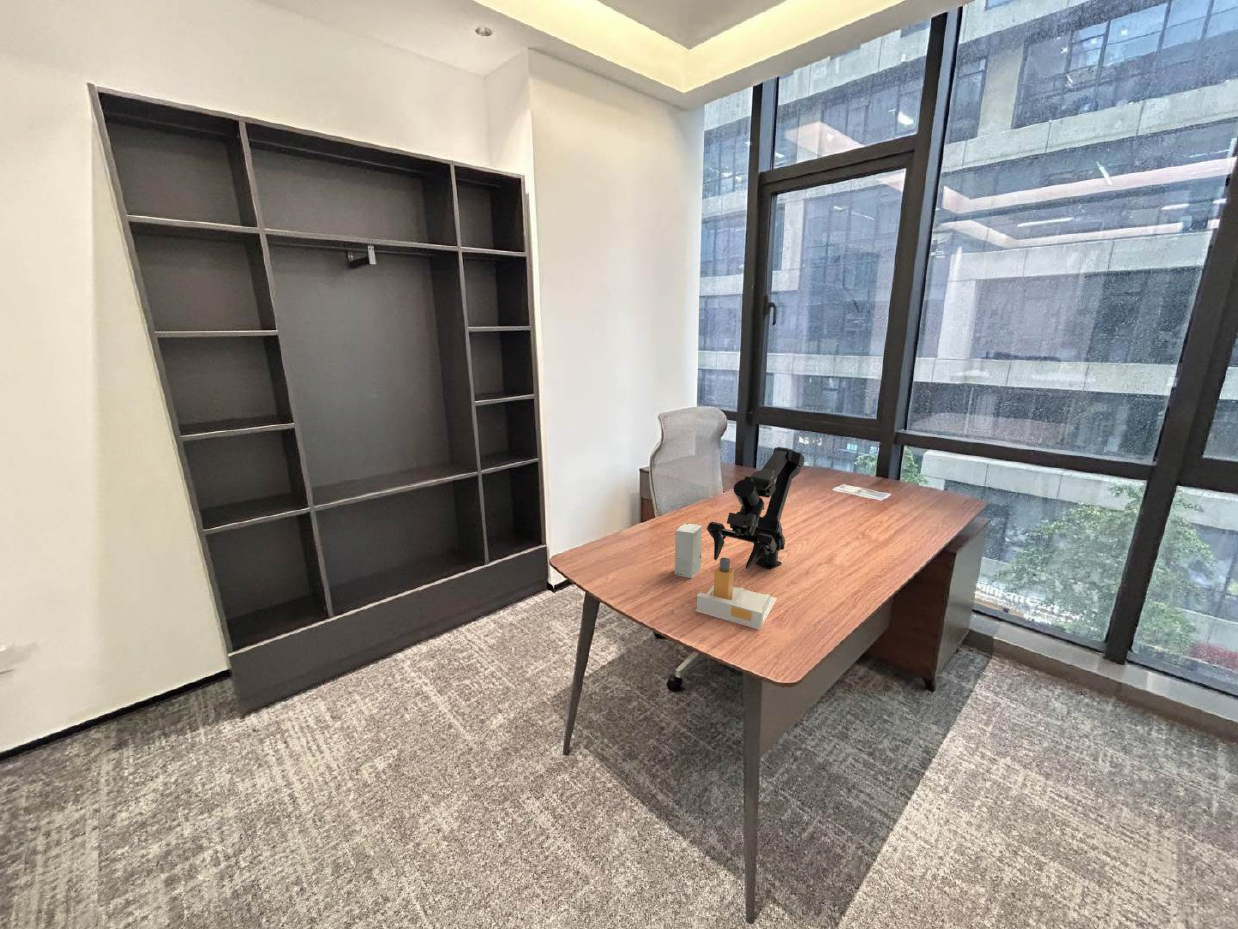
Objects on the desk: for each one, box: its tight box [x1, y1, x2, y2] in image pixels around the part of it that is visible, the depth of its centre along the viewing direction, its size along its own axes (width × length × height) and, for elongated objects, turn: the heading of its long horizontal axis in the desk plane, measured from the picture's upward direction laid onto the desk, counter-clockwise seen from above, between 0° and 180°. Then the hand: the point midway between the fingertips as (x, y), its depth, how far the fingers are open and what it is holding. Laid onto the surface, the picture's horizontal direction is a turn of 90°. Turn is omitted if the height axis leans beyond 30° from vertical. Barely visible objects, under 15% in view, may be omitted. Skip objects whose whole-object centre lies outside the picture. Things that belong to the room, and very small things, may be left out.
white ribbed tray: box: [695, 584, 778, 630], centre depth 135 cm, size 18×17×5 cm
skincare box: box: [674, 522, 703, 579], centre depth 153 cm, size 8×6×15 cm
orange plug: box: [713, 557, 735, 600], centre depth 133 cm, size 4×4×13 cm
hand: (730, 564), depth 136 cm, fingers open, 9 cm apart
